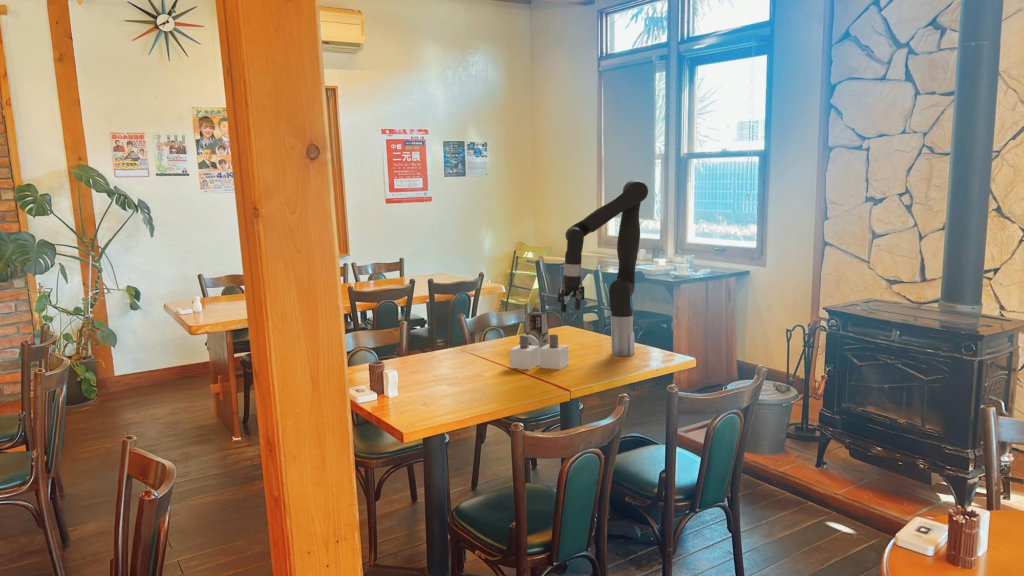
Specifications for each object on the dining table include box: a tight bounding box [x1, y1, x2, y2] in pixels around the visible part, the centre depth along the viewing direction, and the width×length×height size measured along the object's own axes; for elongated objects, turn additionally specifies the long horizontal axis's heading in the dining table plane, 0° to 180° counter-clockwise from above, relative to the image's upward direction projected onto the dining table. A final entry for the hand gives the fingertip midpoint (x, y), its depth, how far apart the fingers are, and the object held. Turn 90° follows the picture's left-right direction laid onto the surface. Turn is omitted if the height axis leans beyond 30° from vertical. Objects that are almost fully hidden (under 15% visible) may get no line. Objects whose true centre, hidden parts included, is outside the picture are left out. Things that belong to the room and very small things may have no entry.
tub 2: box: [539, 333, 570, 371], centre depth 274 cm, size 9×9×13 cm
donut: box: [518, 335, 540, 348], centre depth 291 cm, size 10×4×10 cm, turn 60°
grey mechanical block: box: [524, 311, 549, 349], centre depth 310 cm, size 9×6×16 cm
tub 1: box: [509, 334, 540, 371], centre depth 275 cm, size 9×9×13 cm
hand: (570, 311), depth 288 cm, fingers open, 8 cm apart
